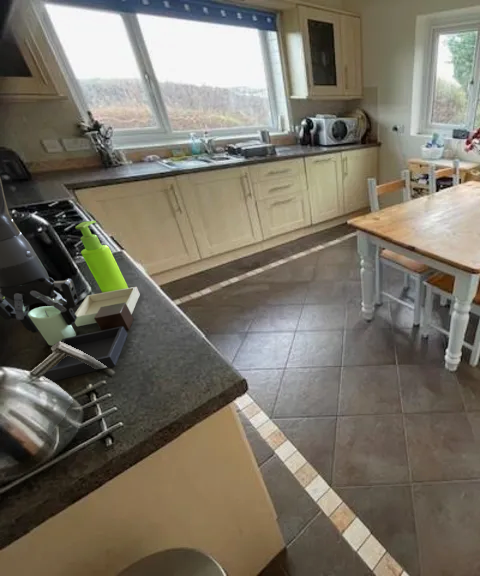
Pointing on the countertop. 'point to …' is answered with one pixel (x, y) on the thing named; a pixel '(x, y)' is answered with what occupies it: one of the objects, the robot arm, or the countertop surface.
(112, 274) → the soap dispenser
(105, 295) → the cream tray
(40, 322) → the candle
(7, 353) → the countertop surface
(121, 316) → the walnut block
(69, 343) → the charcoal tray
